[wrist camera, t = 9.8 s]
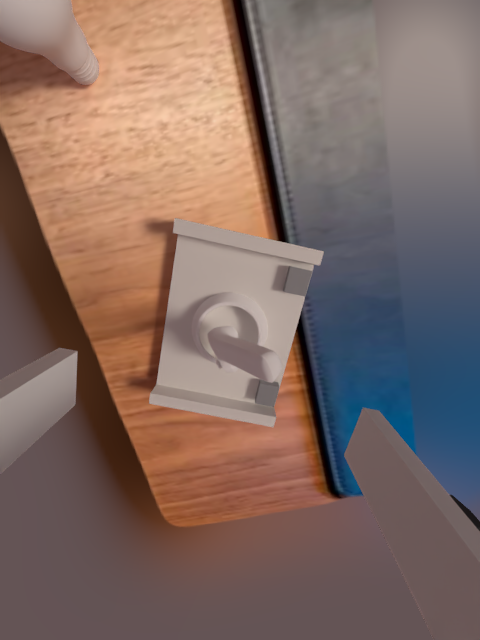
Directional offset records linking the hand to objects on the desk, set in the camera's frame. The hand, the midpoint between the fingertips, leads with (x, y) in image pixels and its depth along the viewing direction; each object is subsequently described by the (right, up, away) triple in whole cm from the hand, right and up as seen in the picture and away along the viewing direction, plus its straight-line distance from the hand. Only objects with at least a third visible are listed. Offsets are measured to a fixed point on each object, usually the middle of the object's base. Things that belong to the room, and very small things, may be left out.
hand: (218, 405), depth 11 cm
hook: (0, +3, +14) cm, 14 cm away
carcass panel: (0, +3, +15) cm, 15 cm away
